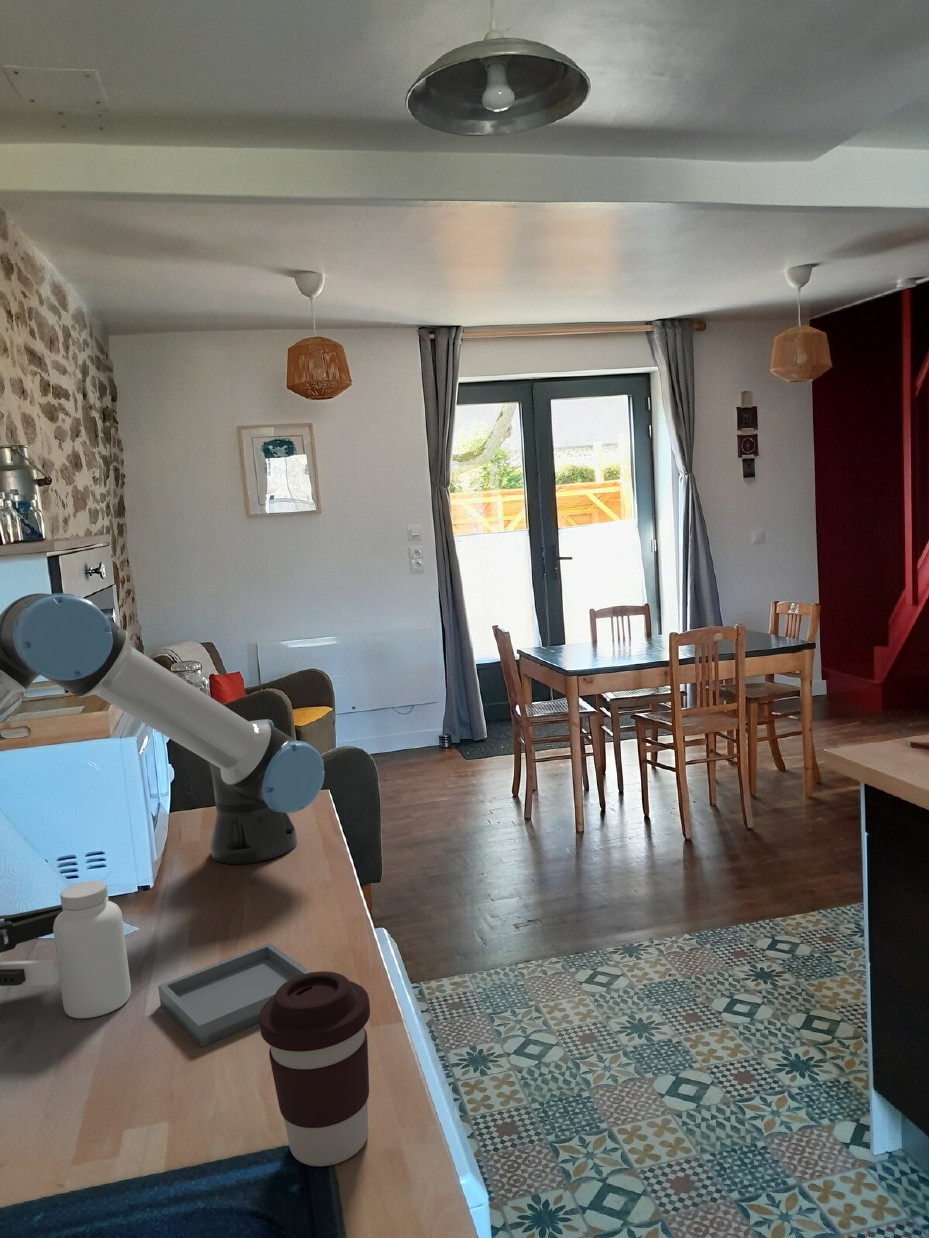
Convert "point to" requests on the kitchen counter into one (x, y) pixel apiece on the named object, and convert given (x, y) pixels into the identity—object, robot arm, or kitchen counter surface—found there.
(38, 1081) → the kitchen counter surface
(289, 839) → the robot arm
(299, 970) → the tray
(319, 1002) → the coffee cup
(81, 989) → the pill bottle
